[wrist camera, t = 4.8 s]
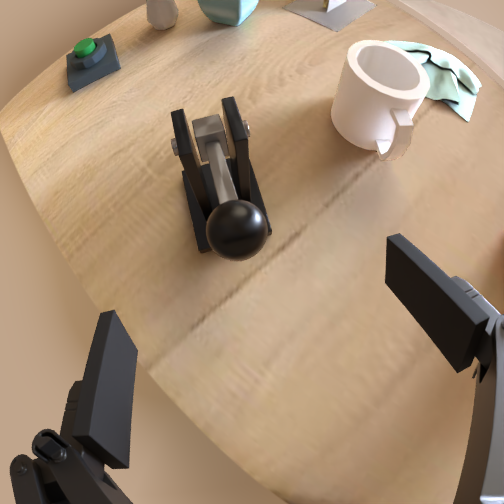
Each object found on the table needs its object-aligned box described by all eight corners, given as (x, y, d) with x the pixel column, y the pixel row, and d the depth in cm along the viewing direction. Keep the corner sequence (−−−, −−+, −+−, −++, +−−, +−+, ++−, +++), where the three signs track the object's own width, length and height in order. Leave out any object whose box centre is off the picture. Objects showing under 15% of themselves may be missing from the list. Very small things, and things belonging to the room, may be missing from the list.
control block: (120, 68, 43) (113, 52, 39) (73, 92, 42) (63, 77, 39) (113, 41, 46) (107, 26, 42) (70, 62, 45) (62, 49, 41)
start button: (97, 51, 40) (93, 44, 39) (77, 61, 40) (73, 54, 38) (95, 41, 41) (92, 35, 39) (76, 51, 41) (73, 44, 39)
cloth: (488, 87, 43) (494, 80, 40) (455, 140, 39) (463, 132, 36) (406, 25, 46) (410, 17, 44) (351, 60, 43) (354, 50, 40)
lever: (276, 263, 18) (273, 224, 16) (218, 279, 18) (204, 242, 15) (231, 140, 26) (225, 106, 23) (192, 150, 26) (182, 117, 23)
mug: (419, 170, 37) (456, 125, 27) (350, 176, 37) (378, 125, 27) (384, 93, 41) (407, 43, 31) (321, 94, 41) (334, 38, 30)
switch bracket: (271, 234, 35) (280, 166, 21) (200, 253, 35) (164, 196, 21) (248, 158, 38) (243, 69, 24) (183, 175, 37) (149, 93, 23)
